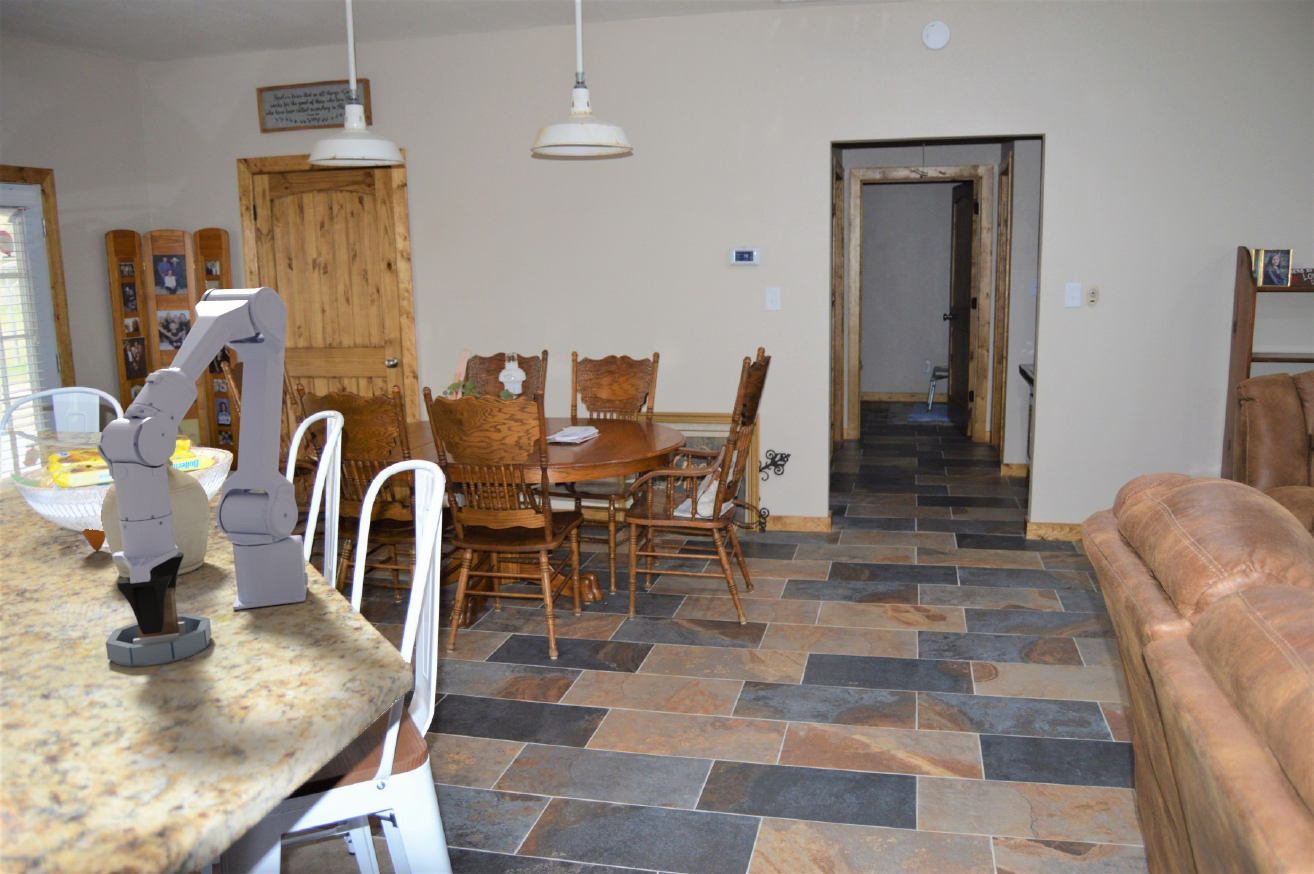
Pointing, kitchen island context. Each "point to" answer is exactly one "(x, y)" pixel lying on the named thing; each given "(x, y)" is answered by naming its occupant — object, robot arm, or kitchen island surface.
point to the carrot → (94, 535)
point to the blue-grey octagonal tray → (159, 643)
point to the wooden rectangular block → (167, 616)
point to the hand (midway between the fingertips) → (158, 622)
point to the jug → (186, 515)
